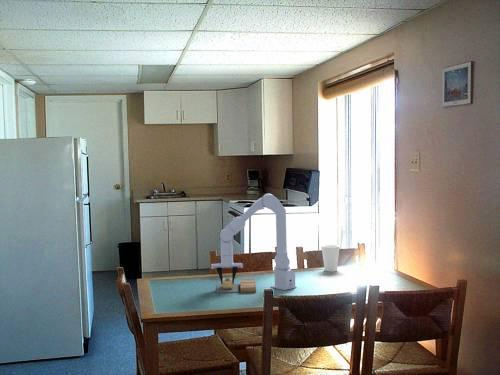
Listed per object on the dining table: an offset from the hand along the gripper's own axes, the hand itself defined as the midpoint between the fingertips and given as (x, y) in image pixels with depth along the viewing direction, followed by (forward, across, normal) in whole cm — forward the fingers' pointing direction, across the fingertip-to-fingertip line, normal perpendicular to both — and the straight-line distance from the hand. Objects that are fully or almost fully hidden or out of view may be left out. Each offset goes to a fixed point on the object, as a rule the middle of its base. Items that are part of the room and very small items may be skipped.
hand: (227, 283), depth 272 cm
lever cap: (+2, 0, 0) cm, 2 cm away
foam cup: (+3, -54, -36) cm, 65 cm away
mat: (+2, 0, 0) cm, 2 cm away
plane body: (+2, -10, 0) cm, 10 cm away
